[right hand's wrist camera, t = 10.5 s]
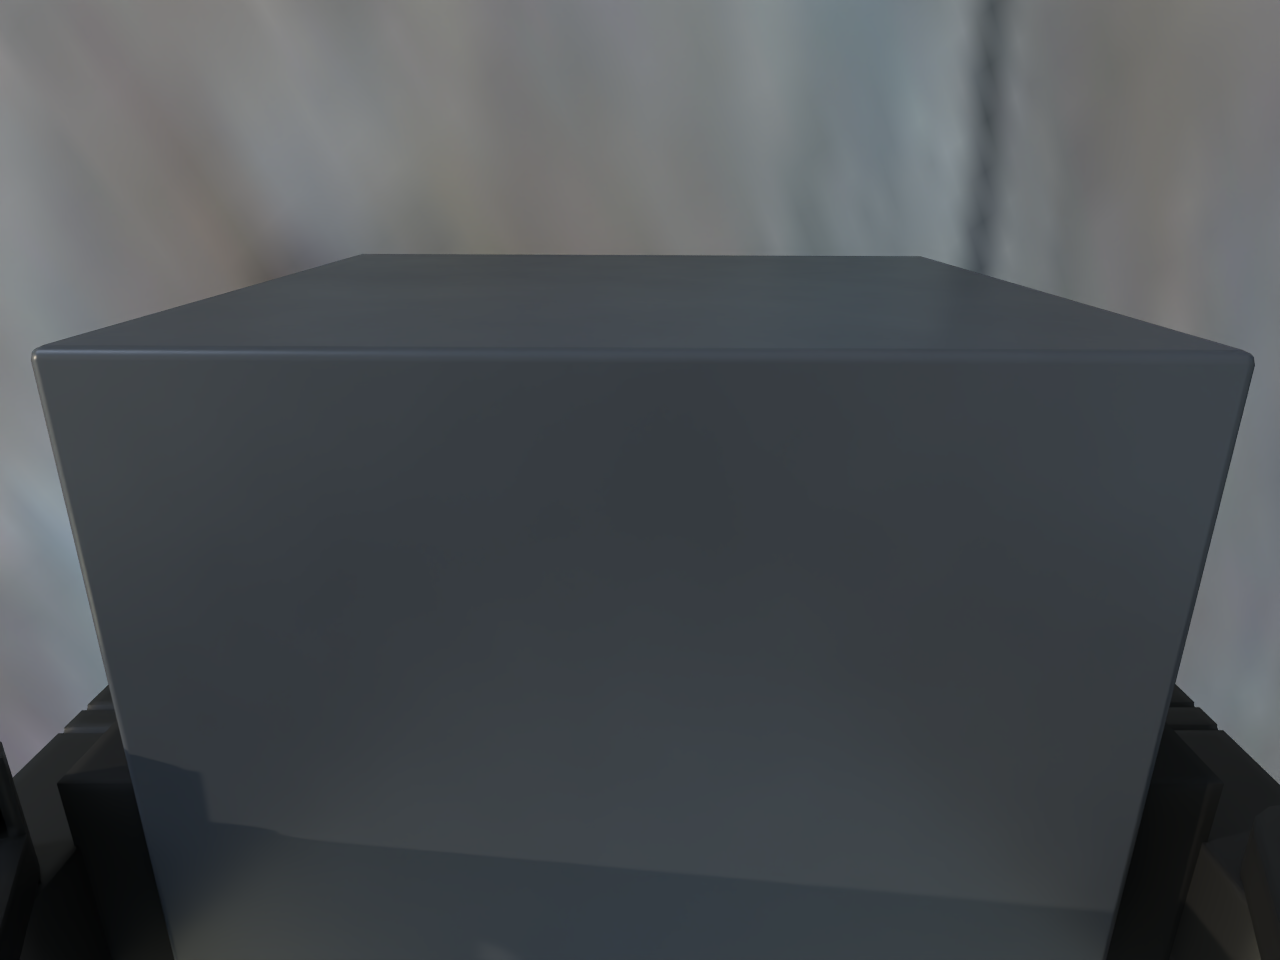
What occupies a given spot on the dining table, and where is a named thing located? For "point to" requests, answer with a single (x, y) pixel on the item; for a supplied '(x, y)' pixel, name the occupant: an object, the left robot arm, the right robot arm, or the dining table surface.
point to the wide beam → (641, 603)
